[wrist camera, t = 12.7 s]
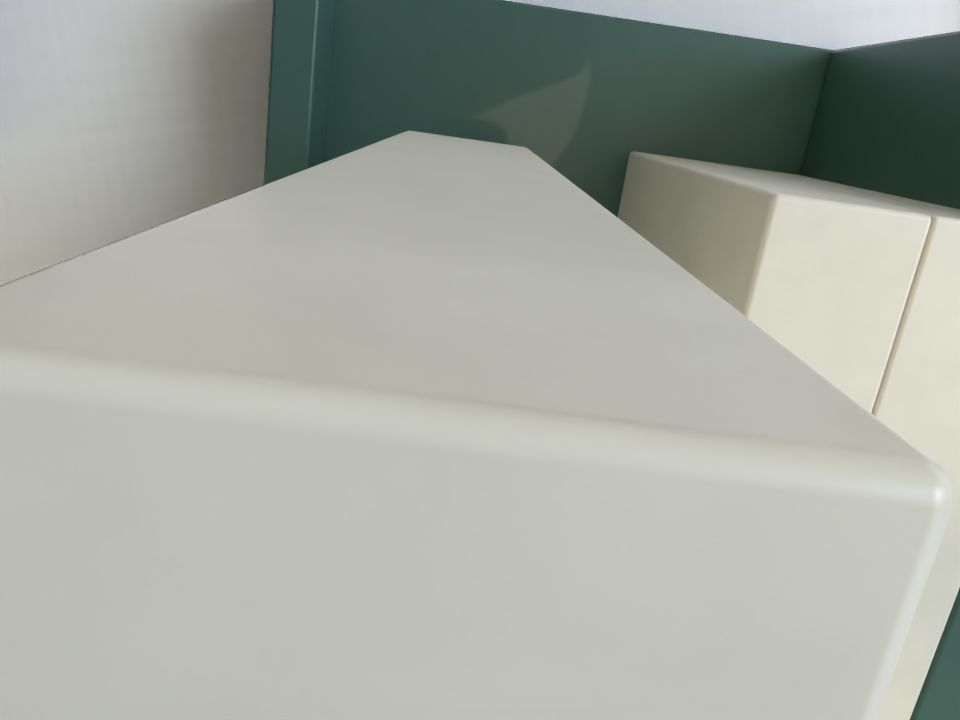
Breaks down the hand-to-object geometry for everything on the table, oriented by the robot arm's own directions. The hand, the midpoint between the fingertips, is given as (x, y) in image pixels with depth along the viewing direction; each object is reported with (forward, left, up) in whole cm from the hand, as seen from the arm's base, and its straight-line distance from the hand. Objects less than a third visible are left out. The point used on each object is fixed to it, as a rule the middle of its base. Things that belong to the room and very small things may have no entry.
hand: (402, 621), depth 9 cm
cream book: (0, 0, -8) cm, 8 cm away
